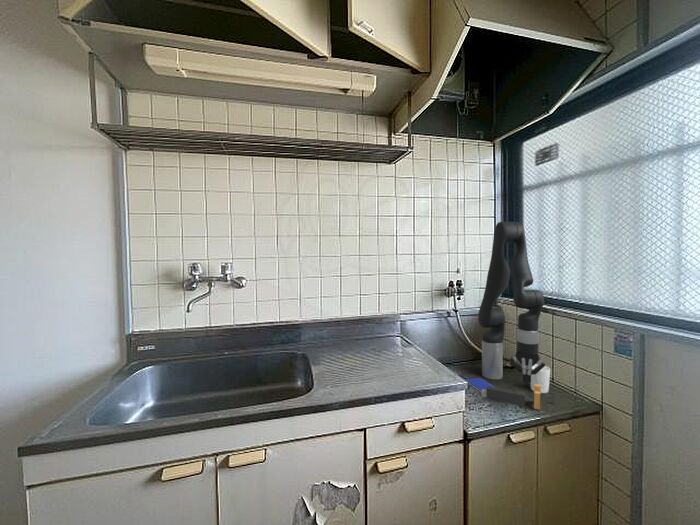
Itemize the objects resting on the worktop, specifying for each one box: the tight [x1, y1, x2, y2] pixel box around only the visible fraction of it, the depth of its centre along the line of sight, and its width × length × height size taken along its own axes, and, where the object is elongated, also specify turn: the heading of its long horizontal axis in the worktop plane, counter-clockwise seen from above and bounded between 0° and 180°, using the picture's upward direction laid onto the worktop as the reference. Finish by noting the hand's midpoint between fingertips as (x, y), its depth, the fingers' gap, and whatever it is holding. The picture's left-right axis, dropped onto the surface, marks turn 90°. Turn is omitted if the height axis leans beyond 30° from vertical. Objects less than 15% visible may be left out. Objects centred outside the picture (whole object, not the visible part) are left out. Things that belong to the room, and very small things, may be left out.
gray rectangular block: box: [481, 386, 526, 406], centre depth 137 cm, size 3×16×4 cm, turn 60°
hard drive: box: [465, 377, 495, 394], centre depth 150 cm, size 2×8×12 cm
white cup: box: [529, 363, 551, 394], centre depth 145 cm, size 8×8×10 cm
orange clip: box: [533, 384, 541, 411], centre depth 131 cm, size 6×2×8 cm, turn 150°
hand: (526, 382), depth 132 cm, fingers closed
